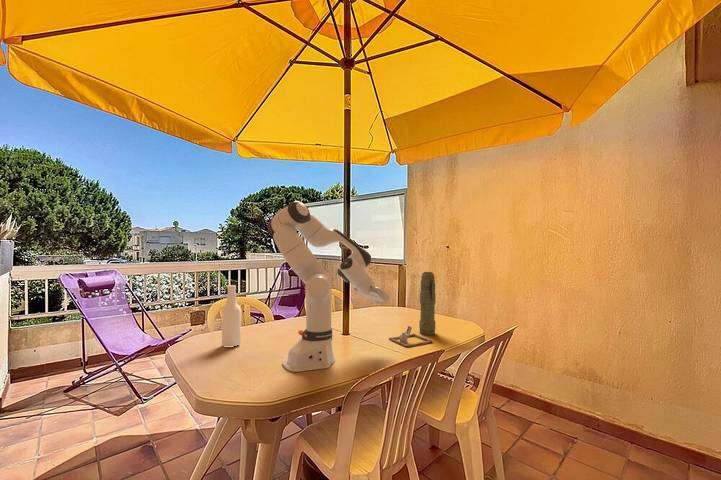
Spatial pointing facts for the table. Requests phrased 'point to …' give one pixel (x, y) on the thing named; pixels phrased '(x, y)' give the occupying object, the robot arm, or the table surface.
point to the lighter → (405, 335)
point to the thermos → (427, 304)
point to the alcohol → (231, 319)
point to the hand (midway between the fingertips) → (381, 303)
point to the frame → (426, 341)
